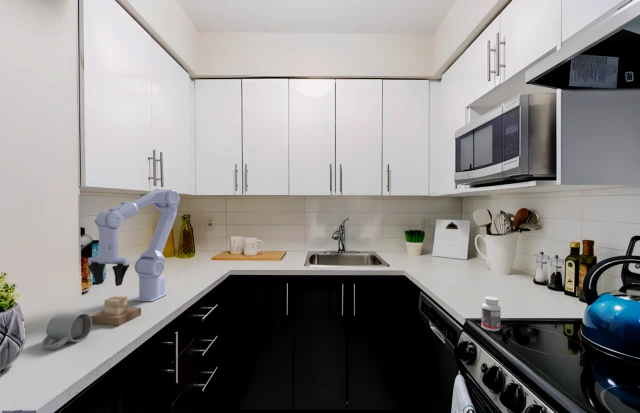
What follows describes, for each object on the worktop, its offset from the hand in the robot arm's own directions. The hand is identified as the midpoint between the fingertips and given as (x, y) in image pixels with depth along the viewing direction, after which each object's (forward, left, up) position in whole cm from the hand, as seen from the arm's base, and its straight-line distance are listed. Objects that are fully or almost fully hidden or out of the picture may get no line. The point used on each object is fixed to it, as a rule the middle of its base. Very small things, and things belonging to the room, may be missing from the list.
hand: (109, 284), depth 117 cm
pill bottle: (-10, +128, -10) cm, 129 cm away
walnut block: (+6, +8, -10) cm, 14 cm away
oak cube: (+6, +8, -7) cm, 12 cm away
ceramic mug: (+24, +7, -10) cm, 26 cm away
